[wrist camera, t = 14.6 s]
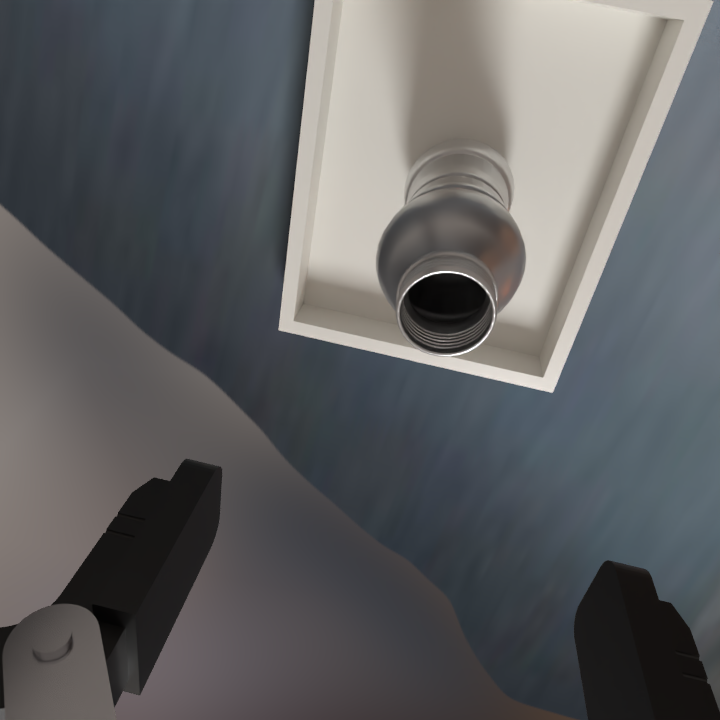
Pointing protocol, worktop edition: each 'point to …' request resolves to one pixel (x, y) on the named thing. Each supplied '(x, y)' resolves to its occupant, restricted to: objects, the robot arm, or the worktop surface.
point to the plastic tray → (490, 126)
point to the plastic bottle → (452, 248)
